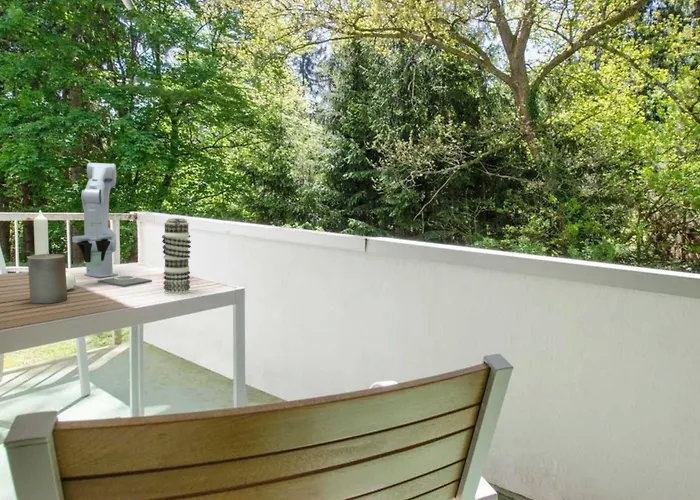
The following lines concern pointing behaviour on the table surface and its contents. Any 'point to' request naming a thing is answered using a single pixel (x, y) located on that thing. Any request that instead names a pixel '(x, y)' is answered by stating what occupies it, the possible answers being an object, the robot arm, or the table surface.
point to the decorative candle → (176, 256)
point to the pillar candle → (47, 278)
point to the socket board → (124, 281)
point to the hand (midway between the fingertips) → (94, 261)
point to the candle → (41, 234)
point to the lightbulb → (70, 280)
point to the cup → (95, 259)
